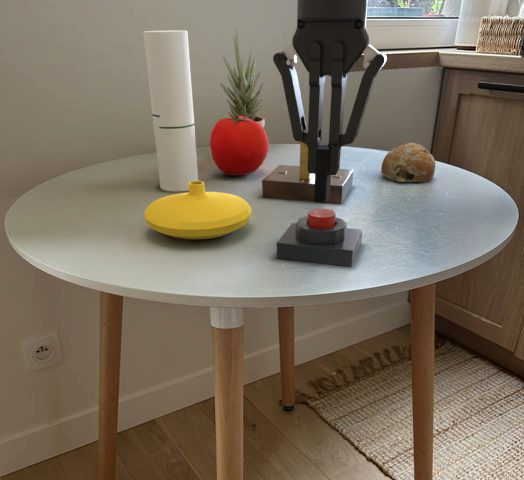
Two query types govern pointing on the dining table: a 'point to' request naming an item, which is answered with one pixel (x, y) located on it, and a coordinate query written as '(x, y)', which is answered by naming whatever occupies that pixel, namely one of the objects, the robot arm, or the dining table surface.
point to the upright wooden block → (304, 162)
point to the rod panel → (304, 185)
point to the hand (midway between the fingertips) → (321, 199)
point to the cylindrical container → (172, 107)
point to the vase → (198, 213)
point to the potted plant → (243, 87)
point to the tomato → (238, 145)
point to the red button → (321, 218)
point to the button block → (320, 243)
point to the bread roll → (408, 164)
